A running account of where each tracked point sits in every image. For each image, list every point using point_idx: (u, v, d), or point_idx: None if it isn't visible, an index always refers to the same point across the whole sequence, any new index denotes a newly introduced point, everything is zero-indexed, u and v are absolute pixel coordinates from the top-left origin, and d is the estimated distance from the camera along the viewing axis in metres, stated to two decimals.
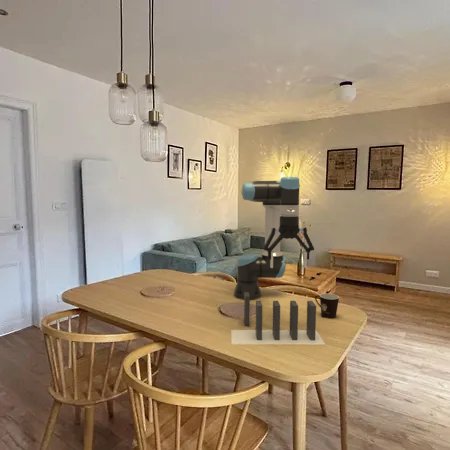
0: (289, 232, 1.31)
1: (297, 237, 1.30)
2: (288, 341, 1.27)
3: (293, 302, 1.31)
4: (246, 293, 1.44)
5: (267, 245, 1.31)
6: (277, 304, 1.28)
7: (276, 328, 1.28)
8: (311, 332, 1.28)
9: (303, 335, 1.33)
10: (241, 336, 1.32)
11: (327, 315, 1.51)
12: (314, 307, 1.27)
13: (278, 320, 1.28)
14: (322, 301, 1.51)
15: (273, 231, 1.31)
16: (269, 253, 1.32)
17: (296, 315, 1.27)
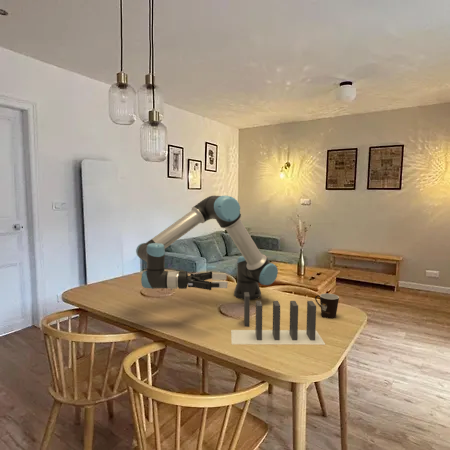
0: None
1: None
2: (288, 341, 1.27)
3: (293, 302, 1.31)
4: (246, 293, 1.44)
5: None
6: (277, 304, 1.28)
7: (276, 328, 1.28)
8: (311, 332, 1.28)
9: (303, 335, 1.33)
10: (241, 336, 1.32)
11: (327, 315, 1.51)
12: (314, 307, 1.27)
13: (278, 320, 1.28)
14: (322, 301, 1.51)
15: None
16: None
17: (296, 315, 1.27)
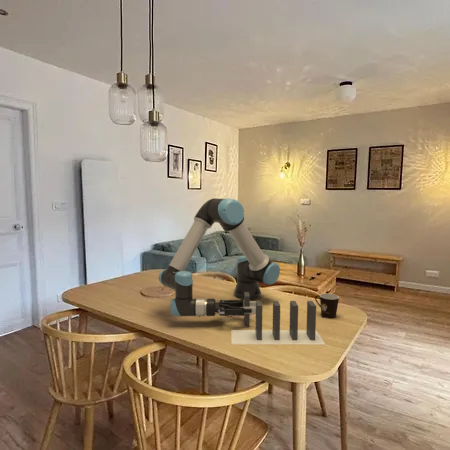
0: None
1: None
2: (288, 341, 1.27)
3: (293, 302, 1.31)
4: (246, 293, 1.44)
5: None
6: (277, 304, 1.28)
7: (276, 328, 1.28)
8: (311, 332, 1.28)
9: (303, 335, 1.33)
10: (241, 336, 1.32)
11: (327, 315, 1.51)
12: (314, 307, 1.27)
13: (278, 320, 1.28)
14: (322, 301, 1.51)
15: None
16: None
17: (296, 315, 1.27)
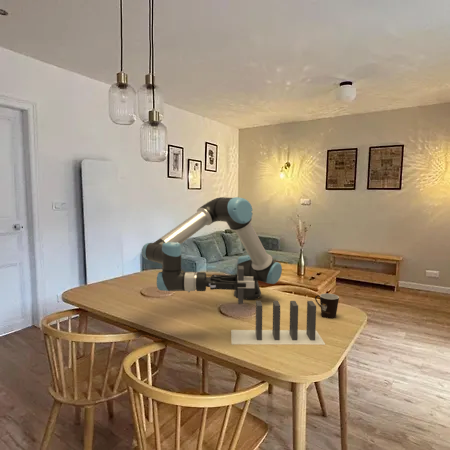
0: None
1: None
2: (288, 341, 1.27)
3: (293, 302, 1.31)
4: (240, 266, 1.31)
5: None
6: (277, 304, 1.28)
7: (276, 328, 1.28)
8: (311, 332, 1.28)
9: (303, 335, 1.33)
10: (241, 336, 1.32)
11: (327, 315, 1.51)
12: (314, 307, 1.27)
13: (278, 320, 1.28)
14: (322, 301, 1.51)
15: None
16: None
17: (296, 315, 1.27)
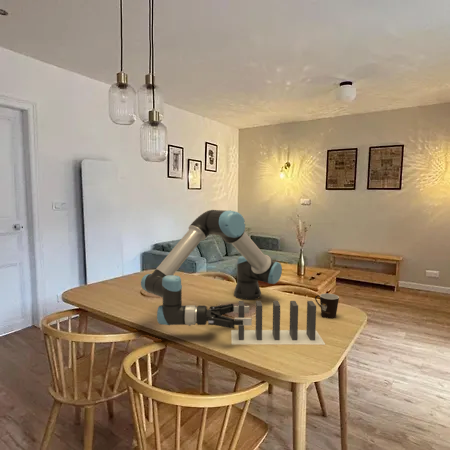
0: None
1: None
2: (288, 341, 1.27)
3: (293, 302, 1.31)
4: (240, 302, 1.31)
5: None
6: (277, 304, 1.28)
7: (276, 328, 1.28)
8: (311, 332, 1.28)
9: (303, 335, 1.33)
10: None
11: (327, 315, 1.51)
12: (314, 307, 1.27)
13: (278, 320, 1.28)
14: (322, 301, 1.51)
15: None
16: None
17: (296, 315, 1.27)
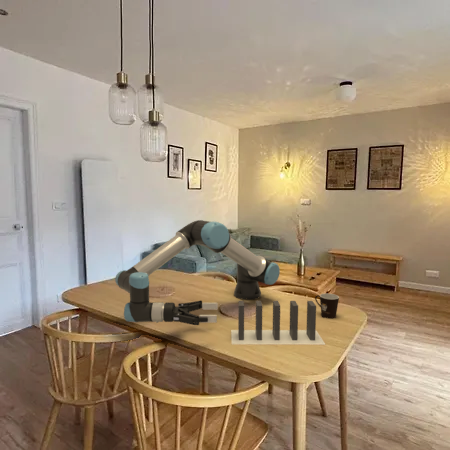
0: None
1: None
2: (288, 341, 1.27)
3: (293, 302, 1.31)
4: (240, 302, 1.31)
5: None
6: (277, 304, 1.28)
7: (276, 328, 1.28)
8: (311, 332, 1.28)
9: (303, 335, 1.33)
10: None
11: (327, 315, 1.51)
12: (314, 307, 1.27)
13: (278, 320, 1.28)
14: (322, 301, 1.51)
15: None
16: None
17: (296, 315, 1.27)
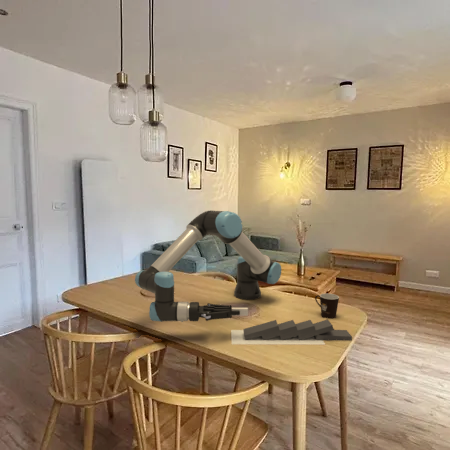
0: None
1: None
2: (288, 341, 1.27)
3: None
4: None
5: None
6: None
7: (292, 333, 1.28)
8: (324, 336, 1.28)
9: None
10: (241, 336, 1.32)
11: (327, 315, 1.51)
12: (350, 339, 1.28)
13: (300, 333, 1.28)
14: (322, 301, 1.51)
15: None
16: None
17: (323, 331, 1.28)
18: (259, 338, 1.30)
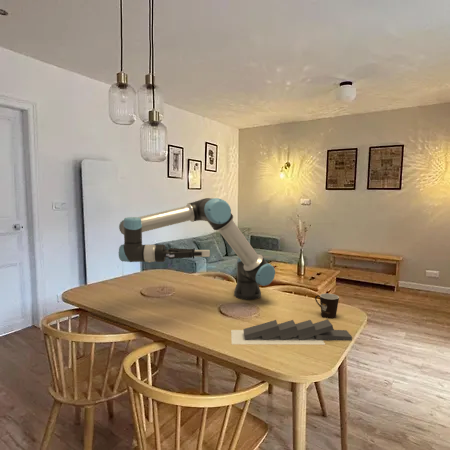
0: None
1: None
2: (288, 341, 1.27)
3: None
4: None
5: None
6: None
7: (292, 333, 1.28)
8: (324, 336, 1.28)
9: None
10: (241, 336, 1.32)
11: (327, 315, 1.51)
12: (350, 339, 1.28)
13: (300, 333, 1.28)
14: (322, 301, 1.51)
15: None
16: None
17: (323, 331, 1.28)
18: (259, 338, 1.30)
